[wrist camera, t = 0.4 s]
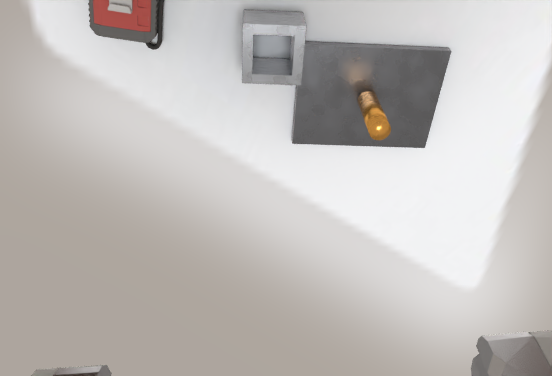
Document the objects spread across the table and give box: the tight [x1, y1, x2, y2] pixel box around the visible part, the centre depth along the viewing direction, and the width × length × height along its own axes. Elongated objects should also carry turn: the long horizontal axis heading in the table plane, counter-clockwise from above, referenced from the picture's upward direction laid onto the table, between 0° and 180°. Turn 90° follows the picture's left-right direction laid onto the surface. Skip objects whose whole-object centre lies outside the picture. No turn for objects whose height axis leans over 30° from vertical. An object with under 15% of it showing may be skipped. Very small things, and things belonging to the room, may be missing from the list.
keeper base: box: [292, 41, 451, 148], centre depth 53 cm, size 12×16×8 cm
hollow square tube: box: [242, 9, 306, 85], centre depth 50 cm, size 6×6×4 cm
